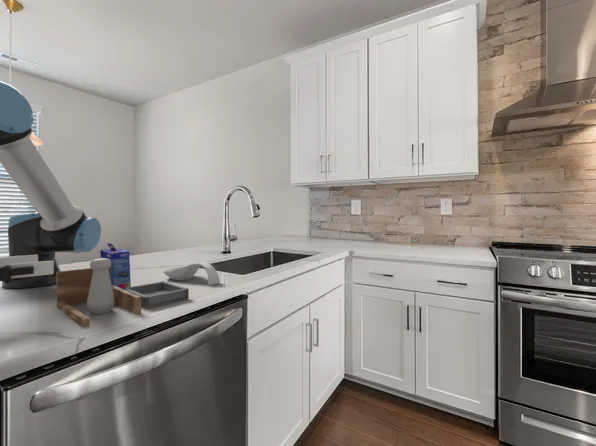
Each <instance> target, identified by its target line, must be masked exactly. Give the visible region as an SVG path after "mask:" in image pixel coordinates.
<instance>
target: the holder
mask: <svg viewBox="0 0 596 446" xmlns="http://www.w3.org/2000/svg"><path fill="white" fill-rule="evenodd" d="M108 270H109V275H110V268H108ZM92 275H93V269H91V267H87V268H79V269H77V268H76V269H70V270H69V269H68V270H60V272H56V283H55V285H56V308H57V309H59V310H60V311H62V312H63V313H64V314H66V315H67V316H68V317H70V318H71V319H72V320H73V321H75V322H76V323H78V324H79V325H81V326H82V327H86V326H90V325H91V319H90V318H91V317H89V316H87V315H85V314H84V313H83V312H81V311H79V310H78V309H77V308H75V307H73V306H75V305H82V304H87V299H88V295H89V290H90V285H91V280H92ZM111 285H112V284H111ZM112 290H113V295H114V300H115V302H114V305H117V306H118V307H120V308H124V309H125V310H127V311H129V312H131V313H132V314H136V315H137V314H140V313H142V307H141V296H139V295H136V294H134V293H131V292H129V291H126V290H124V289H121V288H119V287H117V286H114V285H112Z"/></svg>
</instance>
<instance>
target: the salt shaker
mask: <svg viewBox="0 0 596 446" xmlns="http://www.w3.org/2000/svg"><path fill="white" fill-rule="evenodd" d="M89 265H90V266H89V268H91V269H93V275H92V280H91V285H90V290H89V295H88V299H87V303H86V307H87V309H88V310H89V312H90V314H92V315H102V314H108V313H110V312H111V311H112V310H113V307H114V305H115V303H114V302H115V300H114V295H113V290H112V285H111V280H110V275H109V270H108V268H110V267H111V261H110V260H109V259H107V258H101V257H100V258H99V257H98V258H95V259H92V260H91V261H90V263H89Z"/></svg>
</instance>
